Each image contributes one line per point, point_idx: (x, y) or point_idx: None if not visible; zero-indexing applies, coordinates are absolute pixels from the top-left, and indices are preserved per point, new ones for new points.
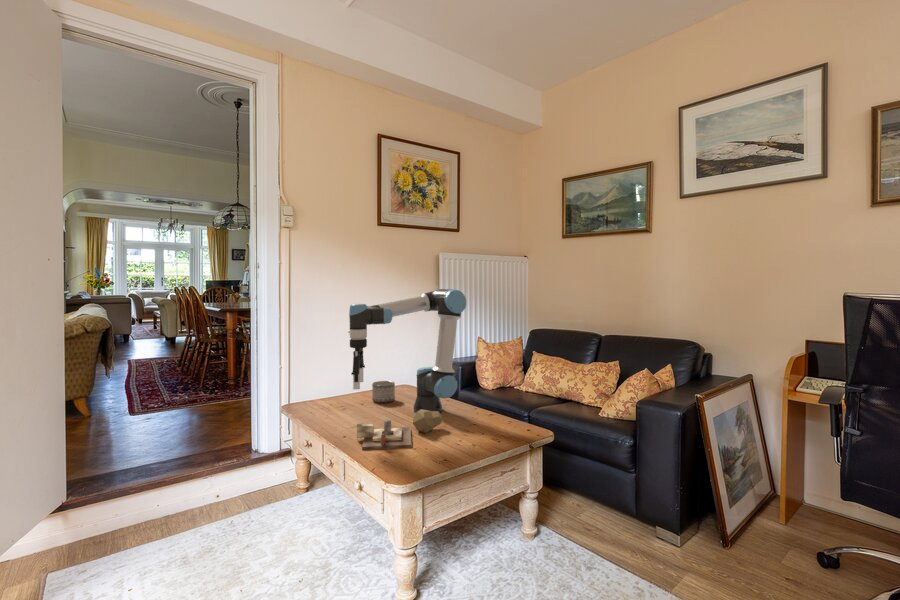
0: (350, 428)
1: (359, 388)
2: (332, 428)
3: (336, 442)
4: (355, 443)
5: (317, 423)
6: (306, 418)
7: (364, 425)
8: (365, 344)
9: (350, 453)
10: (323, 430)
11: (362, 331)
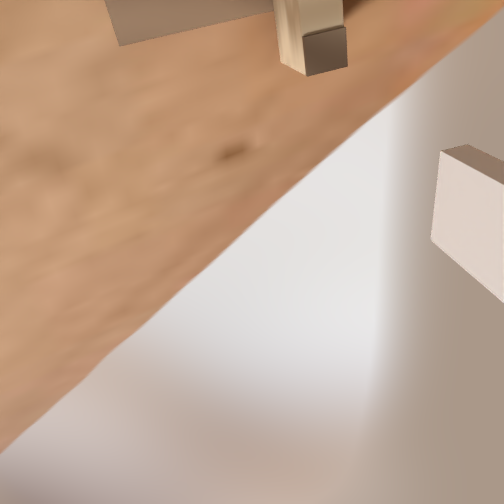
0: (87, 173)
1: (475, 151)
2: (115, 267)
3: (319, 162)
4: None
5: (59, 362)
6: (4, 432)
7: (329, 4)
8: None
9: (474, 28)
10: (156, 292)
11: None
